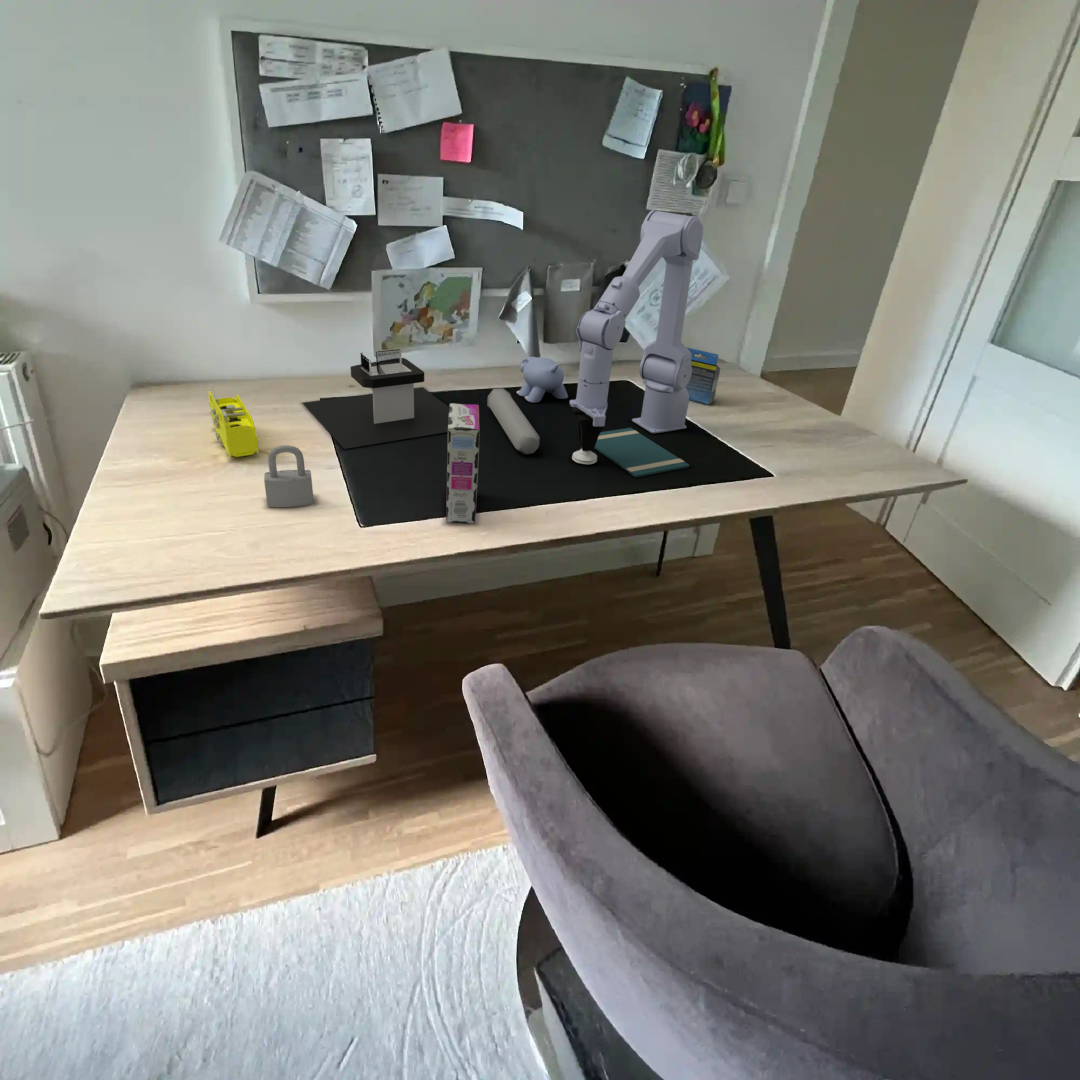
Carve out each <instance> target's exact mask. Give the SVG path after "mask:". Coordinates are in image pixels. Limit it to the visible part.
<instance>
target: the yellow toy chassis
mask: <svg viewBox="0 0 1080 1080" xmlns="http://www.w3.org/2000/svg"><path fill="white" fill-rule="evenodd" d="M207 396H208V401H209V408H210V415H211V416H210V417H211V419H212V420H211V421H212V425H213V427H214V429H215V432H216V433H215V437H216V440H217V441H218V443H219V446H223V447H224V449H225V451H226V453H227V454H228V457H229V458H232V457H236V458H239V457H245V456H246V457H247V456H253V454H255V453H257V454H259V444H258V443H259V440H258V435H257V431H256V427H255V422H254V419H253V417H252V415H251V413H250V412H249V410H248V409H247V407H246V405H245V403H244V402H243V401H242V399H241V398H240V396H239V394H236V395H235V398H234V397H231V396H230V397H219V398H218V397H217V395H216V394H213V393H212V391H211V390H208V394H207Z"/></svg>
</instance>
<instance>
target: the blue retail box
mask: <svg viewBox="0 0 1080 1080" xmlns="http://www.w3.org/2000/svg"><path fill="white" fill-rule="evenodd" d="M686 348H687V349H688V350H689V351H690V352H691V354H692V356H691V367H692V373H691V377H690V380H689V382H688V384H687V385H686V386H685V387H686V389H687V391H688V394H689V401H693V402H697V403H700V404H704V405H708V406H709V405H711V404H713V402H714V401H715V398H716V392H717V388H718V382H719V377H720V373H721V367H719V365H717V364H718V359H719V354H717V353H714V352H709V351H705V350H700V349H696V348H691V347H687V346H686ZM695 355H697V356H695ZM699 355H701V356H702V357H705V358H702V357H698V356H699Z"/></svg>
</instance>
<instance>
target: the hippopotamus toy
mask: <svg viewBox="0 0 1080 1080" xmlns="http://www.w3.org/2000/svg"><path fill="white" fill-rule="evenodd" d="M562 365H563V363H562V362H558V363H557V362H556V361H555V360H552V359H550V358H548V357H543V356H540V357H537V356H528V357H526V358H522V360H521V362H520V365H519V366H520V367H519V369H520V372H522V377H523V380H524V381H523V384H522V386H521V388H520V389H519V390H517V391H516V394H517V395H518V396H520V397H524V399H525V400H526V401H527V402H529V403H539V402H541V401H542V399H543V398H544V395H545V393H550V394H551V396H553V397H554V398H555V399H558V400H565V399H566V400H567V399H568V398H569V395H568V392H567V390H566V387H565V385H564V383H563V382H564V378H565V377H564V375H565V374H564V371H563V369H562V367H561V366H562Z"/></svg>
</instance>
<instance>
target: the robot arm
mask: <svg viewBox="0 0 1080 1080" xmlns="http://www.w3.org/2000/svg"><path fill="white" fill-rule="evenodd" d="M703 234H704V225H703V223H702V221H701V219H700V218H699V217H698V216H696V215H692V216H691V215H685V214H679V213H673V212H667V211H662V210H661V211H660V210H658V209H652V210H650V211H649V212H648V213H647V215H646V216H645V217H644V220H643V223H642V224H641V226H640V242H639V244H638V245H637V248H636V250H635V251H634V253H633V255H632V257H631V259H630V261H629V263H628V264H627V267H626V268H625V271H624V272H623V274H622V275H620V276H615V277H614V278H612V280H611V282H609V284H608V286H607V288H606V289H605V290H604V292H603V294H602V295H601V297H600V298H599V300H598V301H597V303H596V304H595V306H594V307H593V309H589V310H588V311H585V312H584V313H583V314H582V315H581V316H580V318H579V320H578V324H577V327H576V329H575V331H576V337H577V340H578V351H579V352H580V358H579V359H580V360H579V368H578V369H579V370H578V379H577V388H576V397H575V399H570V400H569V406H570V407H571V408H572V412H573V414H574V418H575V421H576V427H577V437H578V438H577V439H578V443H579V446H581V448H582V450H583V451H591V452H593V451H594V449H595V445H596V442H597V439H598V437H599V435H600V433H601V432H603V429H604V428H605V427H606V426H607V424H608V423H609V419H608V418H607V416H606V413H607V409H608V405H609V404H608V396H609V389H610V388H609V387H610V380H611V374H612V364H613V357H614V350H615V347H616V346H618V344H619V343H620V341H621V339H622V338H623V337H622V336H623V333H624V328H625V327H626V324H627V321H626V319H627V317H628V316H629V314H630V313H631V311H632V310H633V308H634V307H635V306H636V303H637V302H638V300H639V299H640V296H641V292H640V291H641V290H640V288H639V287H640V286H641V285H642V283H643V282H644V281H645V279H647V277H648V276H649V275H650V273H651V272H652V271H653V269H654V267H655V266H656V265H657V264H658V263H659V262H660V260H661V259H662V258H663V260H664V261H665V270H664V277H663V284H662V285H663V286H662V292H661V300H660V308H659V315H658V322H657V330H656V337H655V340H654V341H652V342H651V343H649V344H647V345H646V346H645V347H644V351H643V355H642V358H641V361H640V363H639V368H638V369H639V370H638V371H639V376H640V378H641V379H642V380H643V381H642V385H645V389H644V395H643V402H642V408H641V415H640V417H634V418H632V419H631V421H632V422H633V423H635V424H636V425H638V426H640V427H641V428H643V429H644V430H646V431H648V432H649V433H651V434H655V435H656V434H659V433H666V432H673V431H679V430H685V429H687V428H688V427H687V425H686V418H687V414H688V408H689V403H690V400H689V394H688V391H687V389H686V387H685V386H686V385H687V384H688V382H689V380H690V377H691V373H692V367H691V356H692V354H691V352H690V351H689V350H688V349H687V348H686V347H687V346H686V345H685V344H684V343H683V342H682V338H683V331H684V323H685V317H686V311H687V303H688V299H689V291H690V285H691V278H692V272H693V266H694V261H696V260H699V258H700V253H701V249H702V248H701V247H702V242H703V241H702V240H703Z"/></svg>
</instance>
